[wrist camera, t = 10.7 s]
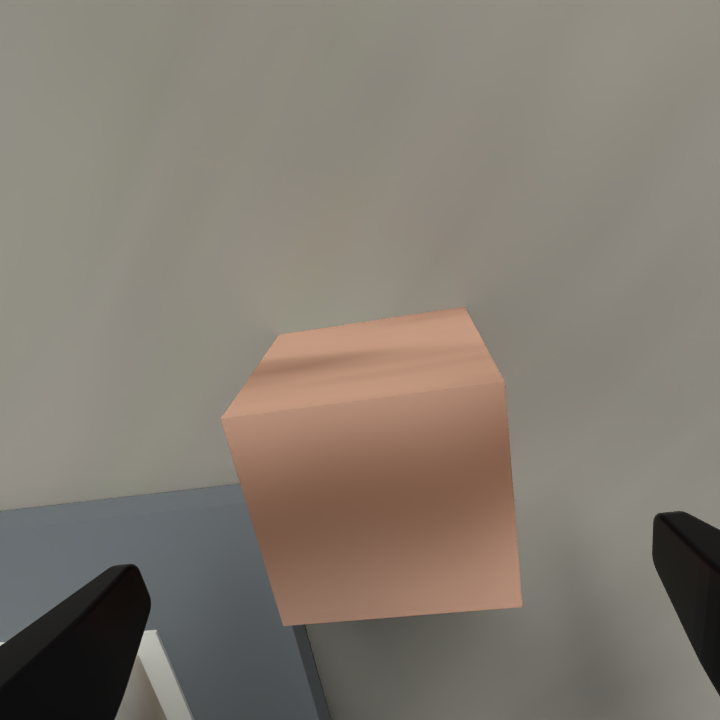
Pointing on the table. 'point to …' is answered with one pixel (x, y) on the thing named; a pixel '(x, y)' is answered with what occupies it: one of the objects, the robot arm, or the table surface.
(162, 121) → the table surface
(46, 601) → the blue-grey square plate
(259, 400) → the terracotta block
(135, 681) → the off-white block
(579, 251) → the table surface
